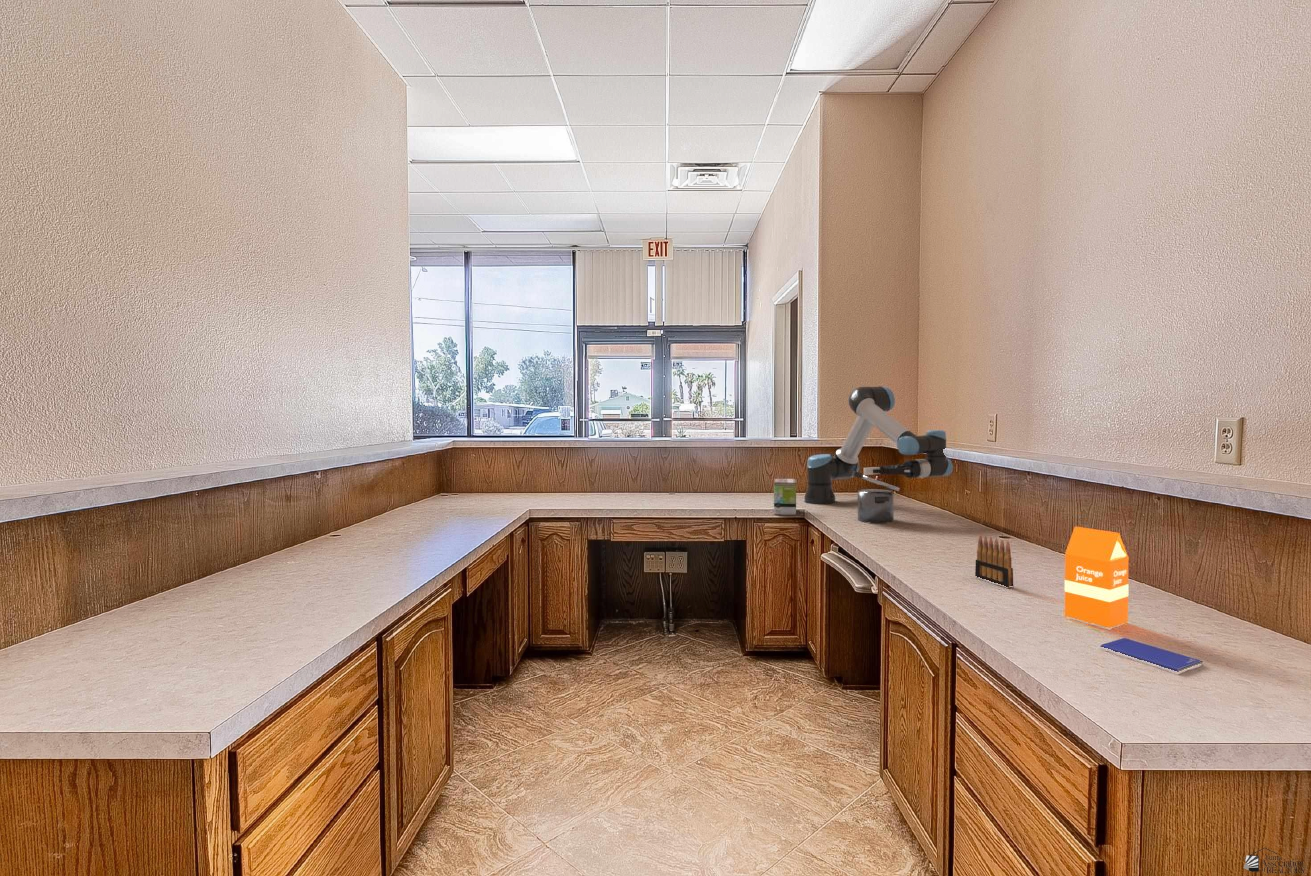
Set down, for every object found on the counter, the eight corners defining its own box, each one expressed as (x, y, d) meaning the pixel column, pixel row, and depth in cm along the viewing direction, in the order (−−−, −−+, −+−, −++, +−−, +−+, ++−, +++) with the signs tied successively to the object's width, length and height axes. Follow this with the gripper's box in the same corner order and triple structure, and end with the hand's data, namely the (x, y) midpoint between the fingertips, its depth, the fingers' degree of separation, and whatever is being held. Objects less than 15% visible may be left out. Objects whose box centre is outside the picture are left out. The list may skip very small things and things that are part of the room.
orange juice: (1083, 611, 136) (1083, 524, 135) (1128, 623, 128) (1129, 530, 127) (1063, 618, 132) (1064, 528, 131) (1109, 630, 124) (1110, 535, 124)
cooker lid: (847, 473, 256) (850, 466, 256) (890, 488, 256) (893, 481, 256) (857, 477, 241) (860, 470, 241) (903, 493, 241) (906, 486, 241)
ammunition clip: (974, 577, 164) (974, 534, 164) (980, 577, 165) (980, 533, 164) (1008, 588, 154) (1008, 542, 154) (1013, 587, 155) (1013, 541, 154)
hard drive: (1203, 659, 107) (1125, 636, 119) (1177, 668, 104) (1100, 644, 115) (1203, 668, 107) (1125, 644, 119) (1177, 677, 104) (1100, 652, 115)
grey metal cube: (852, 516, 259) (852, 488, 258) (885, 515, 258) (885, 488, 257) (865, 524, 241) (864, 494, 240) (900, 523, 240) (900, 494, 240)
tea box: (797, 515, 266) (796, 481, 265) (773, 514, 268) (773, 482, 267) (795, 509, 280) (795, 477, 280) (774, 509, 282) (773, 478, 282)
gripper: (926, 479, 242) (873, 482, 237) (906, 476, 255) (855, 478, 250) (926, 460, 242) (873, 463, 237) (906, 458, 255) (855, 460, 250)
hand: (864, 471), depth 244 cm, fingers closed
